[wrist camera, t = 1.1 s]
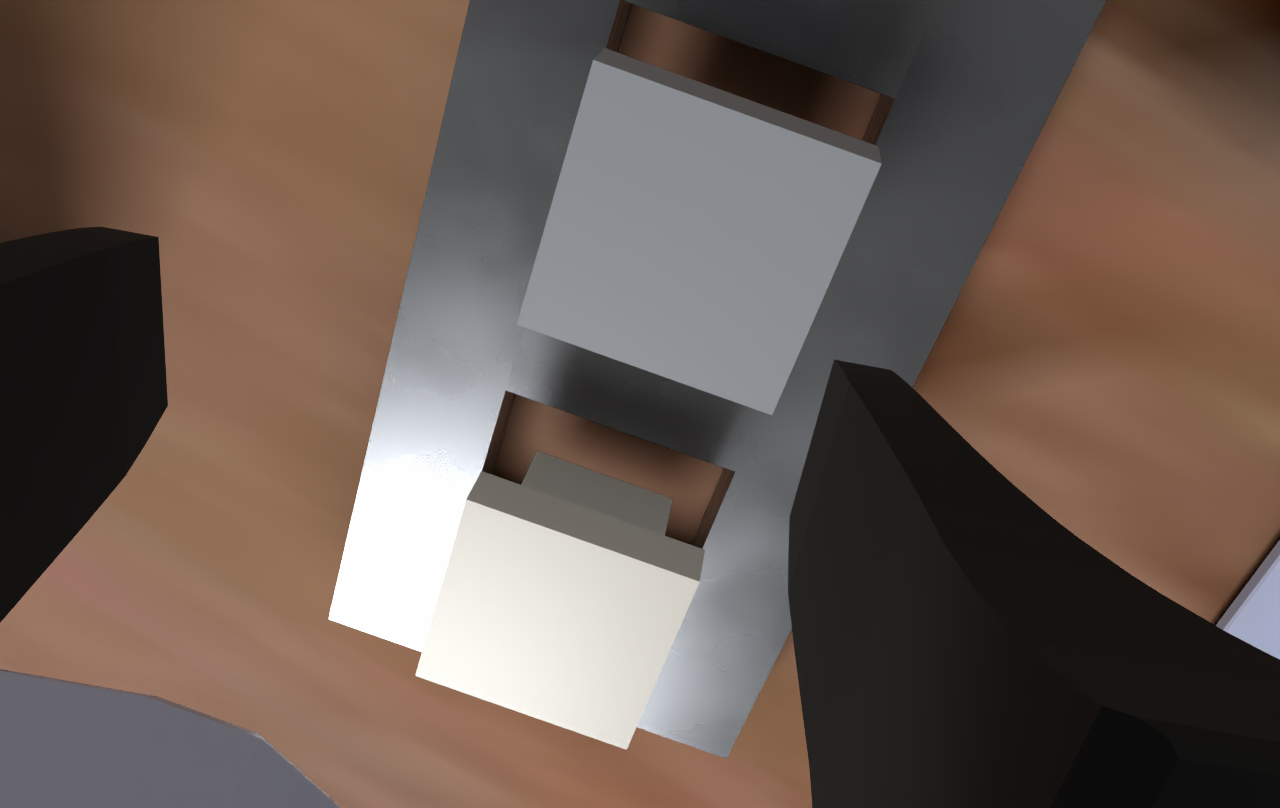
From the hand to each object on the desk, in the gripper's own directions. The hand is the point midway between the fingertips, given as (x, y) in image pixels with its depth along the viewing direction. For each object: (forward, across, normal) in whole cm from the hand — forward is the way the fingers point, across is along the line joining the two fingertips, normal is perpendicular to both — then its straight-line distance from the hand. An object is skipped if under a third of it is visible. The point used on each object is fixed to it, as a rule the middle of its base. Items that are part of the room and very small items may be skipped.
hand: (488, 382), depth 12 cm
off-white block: (+9, -1, +8) cm, 12 cm away
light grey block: (+9, -2, 0) cm, 9 cm away
